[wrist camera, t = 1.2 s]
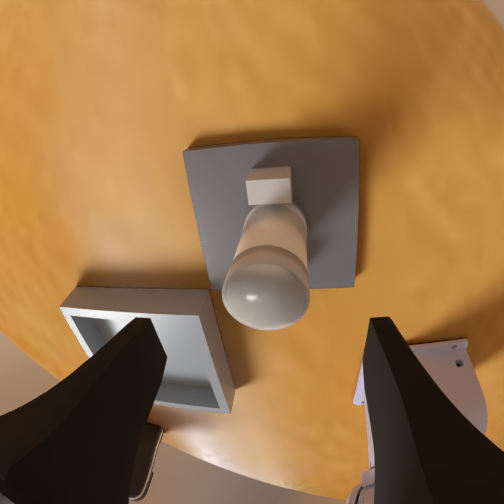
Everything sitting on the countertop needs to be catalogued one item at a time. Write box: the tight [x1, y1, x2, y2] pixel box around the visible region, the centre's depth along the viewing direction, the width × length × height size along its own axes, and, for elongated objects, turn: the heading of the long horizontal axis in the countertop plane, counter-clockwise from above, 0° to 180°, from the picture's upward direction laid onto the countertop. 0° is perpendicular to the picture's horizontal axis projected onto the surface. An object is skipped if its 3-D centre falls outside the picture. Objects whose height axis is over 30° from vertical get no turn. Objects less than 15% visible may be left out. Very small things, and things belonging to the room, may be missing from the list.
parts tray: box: [60, 287, 235, 414], centre depth 24 cm, size 12×12×3 cm
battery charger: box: [129, 423, 163, 501], centre depth 31 cm, size 7×4×11 cm, turn 87°
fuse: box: [222, 200, 309, 330], centre depth 14 cm, size 3×3×6 cm
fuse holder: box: [183, 136, 359, 290], centre depth 17 cm, size 9×9×3 cm
